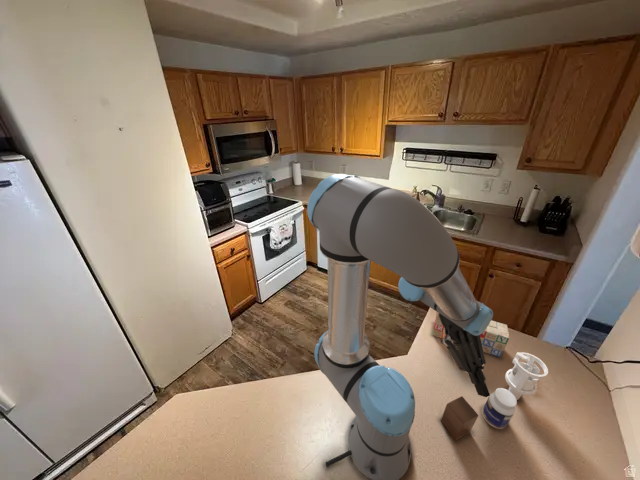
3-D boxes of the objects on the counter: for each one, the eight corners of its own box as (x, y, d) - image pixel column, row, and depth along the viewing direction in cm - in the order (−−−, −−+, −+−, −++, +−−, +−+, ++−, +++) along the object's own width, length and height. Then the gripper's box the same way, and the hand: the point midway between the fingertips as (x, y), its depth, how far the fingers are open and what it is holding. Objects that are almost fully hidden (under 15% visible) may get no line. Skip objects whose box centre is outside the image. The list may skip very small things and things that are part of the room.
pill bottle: (476, 411, 71) (487, 389, 66) (492, 403, 73) (503, 382, 68) (495, 433, 66) (507, 412, 62) (511, 425, 68) (525, 403, 63)
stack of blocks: (498, 343, 90) (510, 318, 84) (500, 358, 85) (513, 332, 79) (433, 323, 99) (440, 298, 93) (431, 335, 94) (438, 310, 88)
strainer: (503, 377, 79) (520, 345, 72) (531, 394, 75) (552, 361, 67) (495, 393, 75) (513, 360, 68) (524, 412, 70) (546, 379, 63)
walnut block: (455, 440, 65) (463, 423, 61) (440, 420, 69) (447, 403, 65) (470, 431, 67) (478, 415, 63) (454, 412, 71) (462, 396, 67)
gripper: (458, 304, 82) (489, 383, 76) (425, 316, 78) (455, 400, 72) (477, 302, 75) (513, 389, 69) (441, 315, 71) (477, 408, 65)
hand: (484, 394), depth 71 cm, fingers closed
